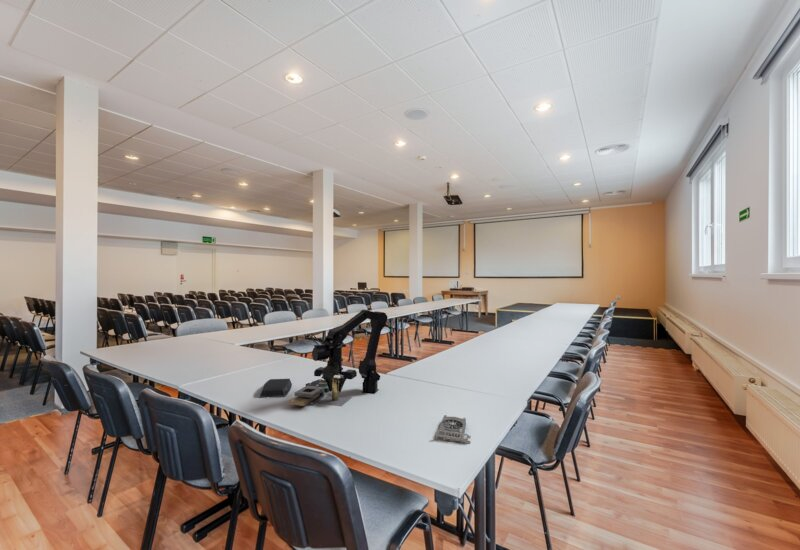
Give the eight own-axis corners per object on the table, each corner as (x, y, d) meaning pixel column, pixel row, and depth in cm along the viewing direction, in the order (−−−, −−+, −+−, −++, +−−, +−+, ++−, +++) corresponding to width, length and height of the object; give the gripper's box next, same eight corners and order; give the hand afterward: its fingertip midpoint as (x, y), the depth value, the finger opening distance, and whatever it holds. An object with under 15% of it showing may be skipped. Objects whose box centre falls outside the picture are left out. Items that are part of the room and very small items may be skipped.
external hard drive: (256, 399, 159) (257, 390, 159) (267, 385, 178) (267, 377, 178) (286, 397, 160) (286, 389, 160) (293, 385, 180) (293, 377, 180)
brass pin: (339, 399, 156) (339, 377, 156) (336, 401, 154) (336, 379, 154) (333, 398, 157) (333, 376, 157) (330, 400, 154) (330, 378, 154)
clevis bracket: (307, 396, 162) (307, 385, 162) (324, 397, 159) (324, 387, 159) (287, 408, 146) (287, 396, 146) (305, 410, 144) (305, 398, 144)
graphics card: (470, 436, 115) (435, 430, 118) (470, 447, 115) (434, 441, 118) (473, 417, 131) (442, 412, 135) (473, 426, 131) (442, 422, 135)
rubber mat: (352, 397, 160) (352, 396, 160) (341, 407, 148) (341, 406, 148) (329, 395, 163) (329, 394, 163) (316, 404, 151) (316, 403, 151)
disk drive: (305, 389, 173) (327, 394, 165) (305, 384, 173) (327, 388, 165) (319, 384, 182) (341, 388, 174) (319, 378, 182) (341, 382, 174)
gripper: (307, 360, 150) (307, 395, 150) (346, 363, 145) (346, 400, 145) (320, 354, 161) (320, 388, 161) (357, 357, 156) (357, 391, 156)
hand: (335, 392), depth 155 cm, fingers open, 4 cm apart
